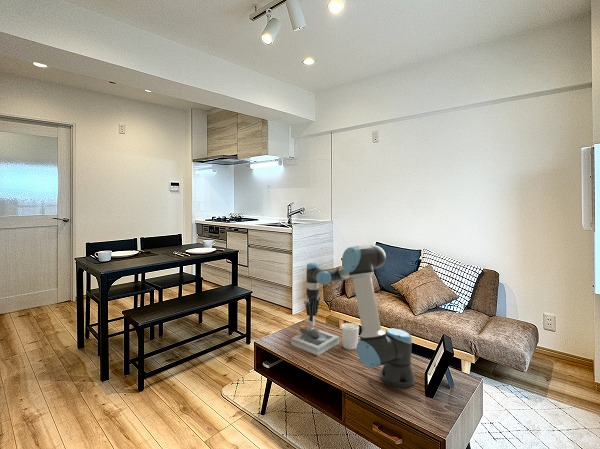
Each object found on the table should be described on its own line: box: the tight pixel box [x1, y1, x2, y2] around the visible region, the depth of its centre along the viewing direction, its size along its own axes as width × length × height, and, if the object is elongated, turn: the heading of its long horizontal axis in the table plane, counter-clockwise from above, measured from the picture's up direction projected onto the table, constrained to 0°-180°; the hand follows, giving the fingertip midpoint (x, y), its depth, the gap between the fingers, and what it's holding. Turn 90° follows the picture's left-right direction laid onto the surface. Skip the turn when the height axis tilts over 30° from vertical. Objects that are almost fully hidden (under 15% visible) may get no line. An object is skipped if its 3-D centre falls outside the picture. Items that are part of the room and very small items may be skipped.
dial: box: [299, 324, 326, 345], centre depth 188 cm, size 18×13×6 cm
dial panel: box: [290, 327, 340, 356], centre depth 187 cm, size 20×20×4 cm
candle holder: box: [341, 322, 360, 350], centre depth 184 cm, size 10×10×12 cm
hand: (312, 325), depth 197 cm, fingers closed
